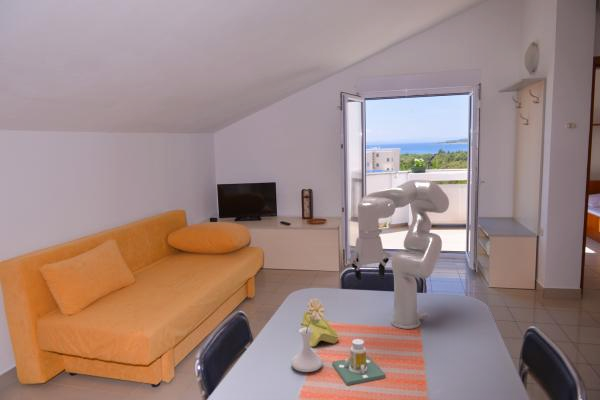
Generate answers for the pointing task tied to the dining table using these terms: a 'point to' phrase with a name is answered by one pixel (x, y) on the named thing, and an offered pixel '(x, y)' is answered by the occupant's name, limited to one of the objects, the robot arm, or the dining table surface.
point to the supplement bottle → (358, 354)
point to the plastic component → (320, 330)
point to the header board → (358, 376)
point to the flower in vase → (307, 357)
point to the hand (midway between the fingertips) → (370, 277)
